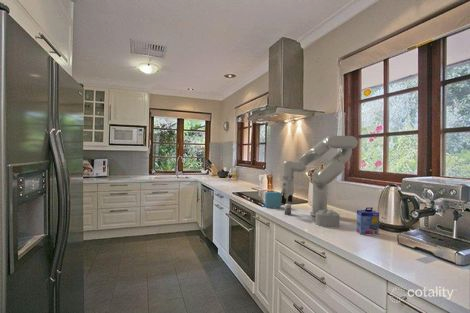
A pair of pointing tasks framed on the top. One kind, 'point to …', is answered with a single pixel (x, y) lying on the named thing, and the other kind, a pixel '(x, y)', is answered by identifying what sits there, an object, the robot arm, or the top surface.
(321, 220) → the lumpy-topped squat cylinder
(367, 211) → the ink cartridge box
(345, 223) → the top surface
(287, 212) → the connector casing
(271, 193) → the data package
